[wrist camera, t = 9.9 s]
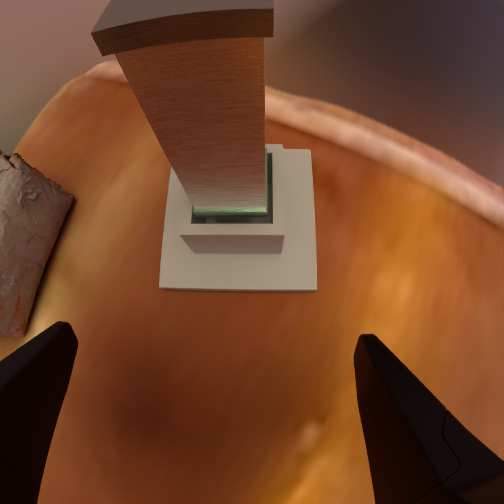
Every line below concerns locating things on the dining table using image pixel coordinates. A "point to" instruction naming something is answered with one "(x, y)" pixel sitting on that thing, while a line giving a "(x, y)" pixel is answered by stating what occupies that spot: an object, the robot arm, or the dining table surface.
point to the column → (200, 92)
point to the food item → (25, 236)
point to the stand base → (246, 236)
